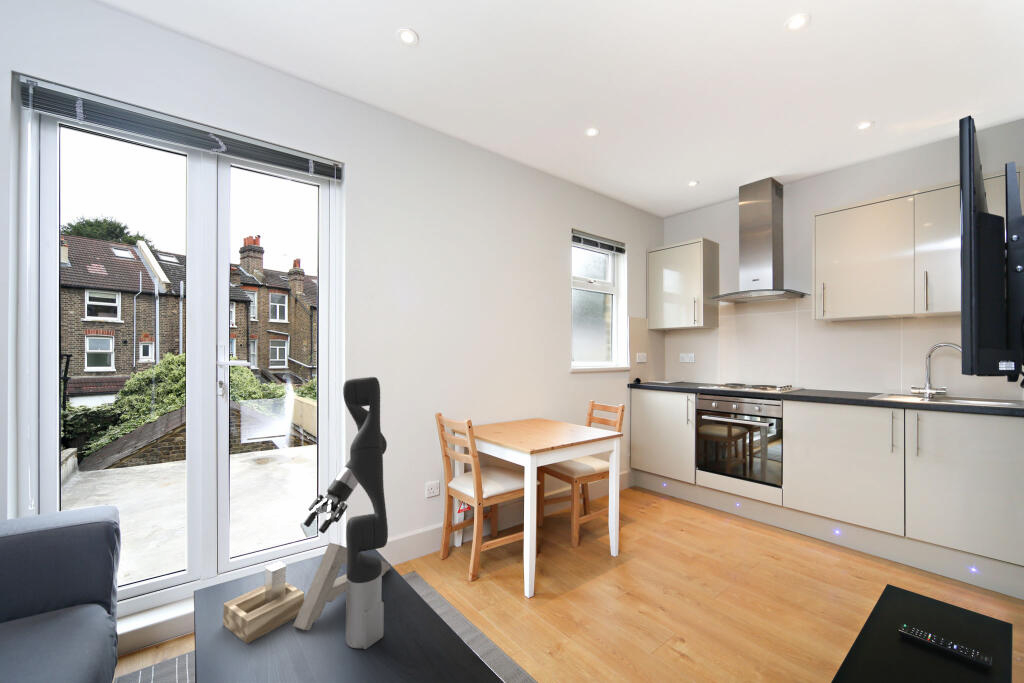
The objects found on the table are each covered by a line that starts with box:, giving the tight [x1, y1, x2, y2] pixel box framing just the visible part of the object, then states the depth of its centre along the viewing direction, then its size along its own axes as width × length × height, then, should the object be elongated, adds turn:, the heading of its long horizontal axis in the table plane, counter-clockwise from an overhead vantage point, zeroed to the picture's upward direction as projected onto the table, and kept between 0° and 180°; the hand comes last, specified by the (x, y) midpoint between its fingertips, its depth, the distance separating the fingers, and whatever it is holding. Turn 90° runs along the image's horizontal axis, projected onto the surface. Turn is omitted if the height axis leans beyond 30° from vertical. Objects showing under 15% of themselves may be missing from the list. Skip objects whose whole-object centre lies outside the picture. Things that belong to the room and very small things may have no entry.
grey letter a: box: [292, 542, 392, 632], centre depth 135 cm, size 22×4×30 cm
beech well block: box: [222, 582, 305, 644], centre depth 124 cm, size 14×16×6 cm
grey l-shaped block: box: [264, 561, 287, 605], centre depth 124 cm, size 4×10×13 cm, turn 146°
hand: (313, 528), depth 138 cm, fingers open, 8 cm apart
